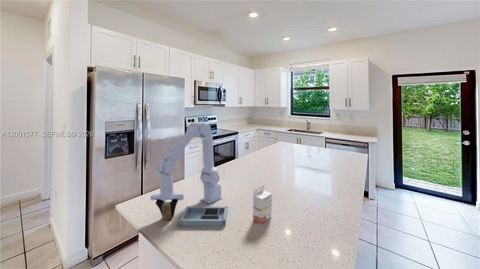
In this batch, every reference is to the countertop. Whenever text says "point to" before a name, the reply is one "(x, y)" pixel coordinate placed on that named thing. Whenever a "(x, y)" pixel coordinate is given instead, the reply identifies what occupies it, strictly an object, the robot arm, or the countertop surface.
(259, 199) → the ink cartridge box
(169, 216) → the tan wooden block
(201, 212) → the blue shallow rectangular tray
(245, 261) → the countertop surface
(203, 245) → the countertop surface
